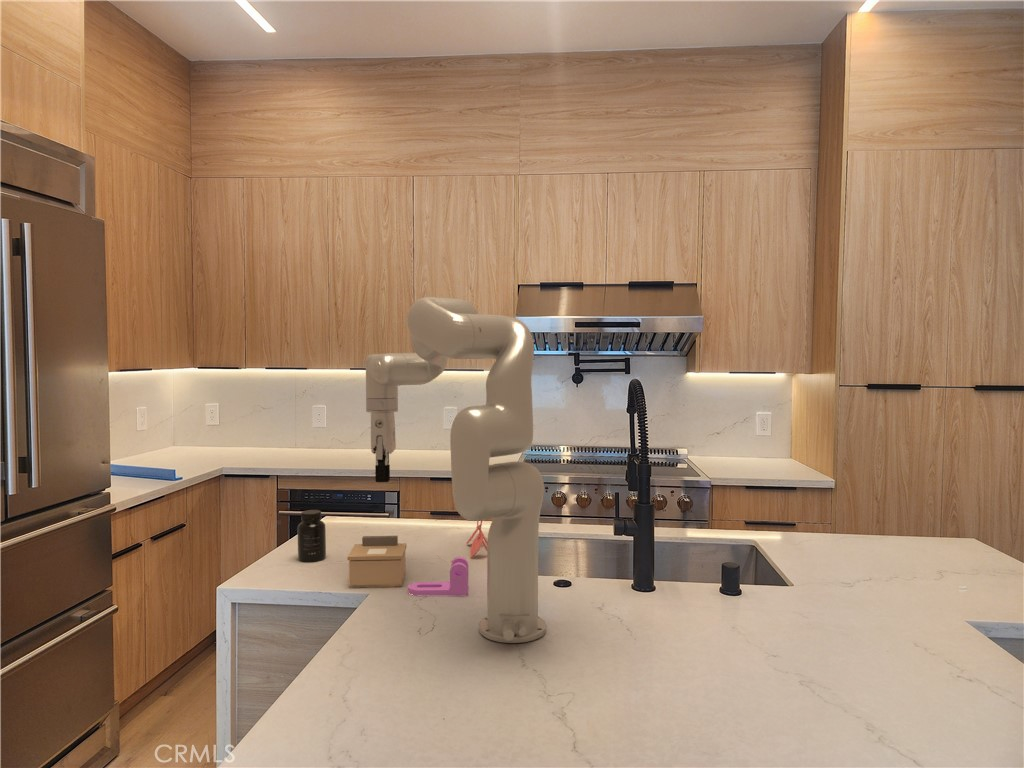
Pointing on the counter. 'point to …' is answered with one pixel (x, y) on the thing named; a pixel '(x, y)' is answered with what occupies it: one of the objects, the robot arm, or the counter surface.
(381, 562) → the mailer box
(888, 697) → the counter surface
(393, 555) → the mailer lid
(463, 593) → the bracket
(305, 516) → the supplement bottle
